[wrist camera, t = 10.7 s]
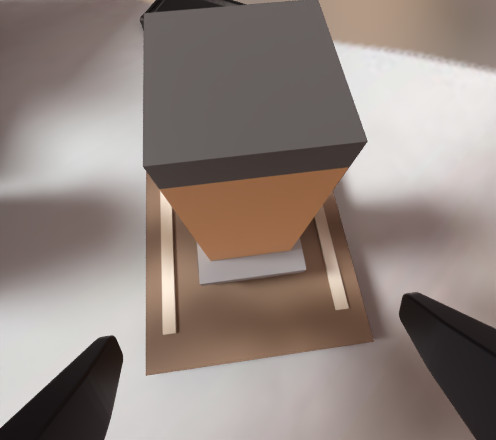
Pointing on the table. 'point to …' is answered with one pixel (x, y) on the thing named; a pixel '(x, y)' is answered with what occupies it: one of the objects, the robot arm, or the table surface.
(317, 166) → the grey-topped tan box
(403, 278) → the table surface
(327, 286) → the dock
